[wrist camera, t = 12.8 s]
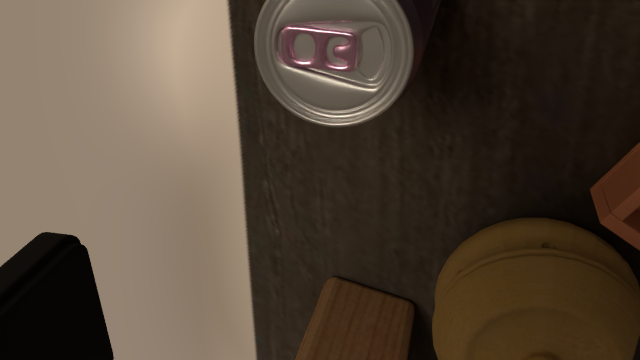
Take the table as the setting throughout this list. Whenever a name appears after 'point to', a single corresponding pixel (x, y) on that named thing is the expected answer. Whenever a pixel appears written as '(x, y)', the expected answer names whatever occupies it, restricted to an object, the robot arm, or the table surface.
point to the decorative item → (357, 324)
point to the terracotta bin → (621, 198)
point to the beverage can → (341, 55)
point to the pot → (536, 296)
